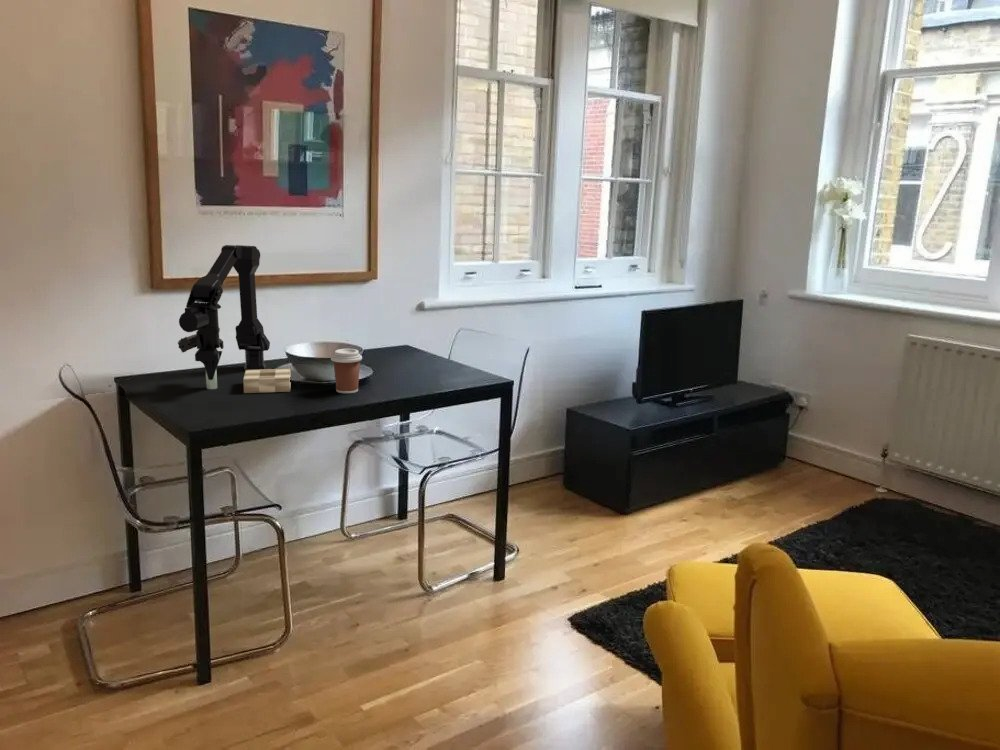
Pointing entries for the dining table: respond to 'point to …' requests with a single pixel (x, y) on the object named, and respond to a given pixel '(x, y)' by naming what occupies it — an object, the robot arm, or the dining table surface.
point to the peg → (211, 382)
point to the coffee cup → (346, 370)
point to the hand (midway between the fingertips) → (211, 378)
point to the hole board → (267, 380)
